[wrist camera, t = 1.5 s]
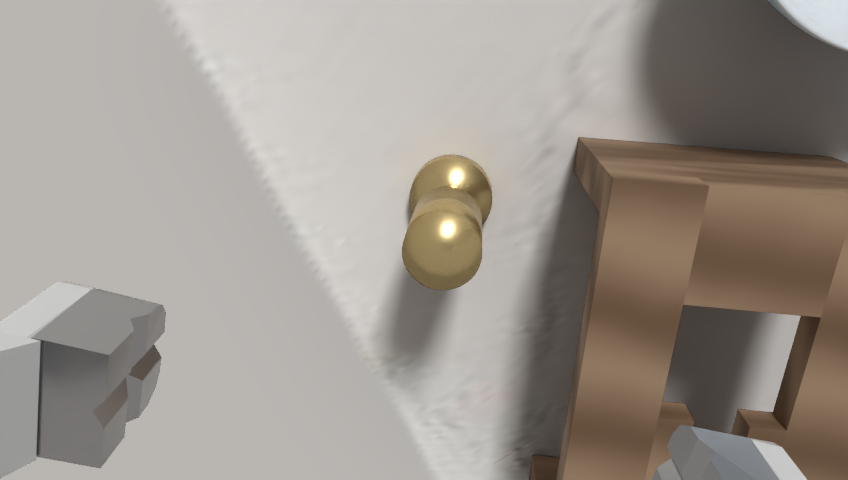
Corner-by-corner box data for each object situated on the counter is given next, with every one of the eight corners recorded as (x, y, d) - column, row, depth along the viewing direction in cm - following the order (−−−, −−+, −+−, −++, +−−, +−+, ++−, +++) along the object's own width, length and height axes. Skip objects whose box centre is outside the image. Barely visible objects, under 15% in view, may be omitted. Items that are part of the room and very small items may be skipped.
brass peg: (495, 158, 37) (500, 206, 27) (487, 235, 39) (490, 306, 29) (414, 151, 37) (391, 197, 28) (409, 228, 39) (386, 296, 29)
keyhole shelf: (578, 137, 36) (613, 178, 27) (830, 156, 35) (957, 206, 26) (529, 478, 44) (542, 602, 35) (733, 500, 43) (803, 634, 34)
